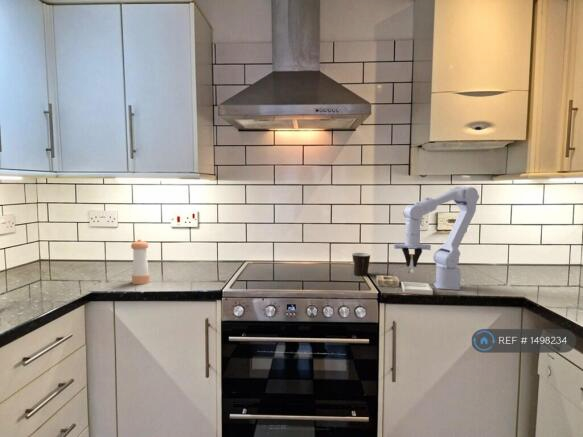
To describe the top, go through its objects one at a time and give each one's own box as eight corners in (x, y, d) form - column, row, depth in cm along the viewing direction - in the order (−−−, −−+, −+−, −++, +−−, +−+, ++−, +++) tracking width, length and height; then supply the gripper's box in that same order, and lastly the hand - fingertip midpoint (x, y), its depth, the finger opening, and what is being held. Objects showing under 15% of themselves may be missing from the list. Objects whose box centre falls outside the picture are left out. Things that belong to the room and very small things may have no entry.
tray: (427, 287, 159) (427, 283, 159) (432, 295, 148) (432, 290, 148) (400, 286, 161) (401, 281, 161) (404, 293, 150) (404, 288, 150)
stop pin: (413, 272, 157) (414, 253, 156) (414, 273, 155) (415, 255, 154) (407, 272, 157) (408, 253, 156) (408, 273, 155) (409, 254, 154)
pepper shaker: (130, 284, 160) (129, 241, 158) (133, 280, 167) (131, 238, 165) (148, 283, 162) (147, 240, 160) (150, 279, 169) (149, 238, 167)
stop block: (396, 281, 169) (396, 276, 168) (398, 287, 160) (399, 281, 160) (376, 280, 170) (376, 275, 170) (377, 285, 161) (377, 280, 161)
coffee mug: (355, 271, 187) (355, 252, 186) (371, 273, 183) (372, 253, 182) (347, 276, 177) (347, 256, 176) (365, 278, 173) (365, 257, 172)
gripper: (429, 233, 157) (427, 264, 158) (393, 232, 160) (392, 263, 161) (432, 235, 150) (430, 268, 151) (395, 234, 153) (394, 266, 154)
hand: (411, 266), depth 156 cm, fingers closed on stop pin, 2 cm apart
